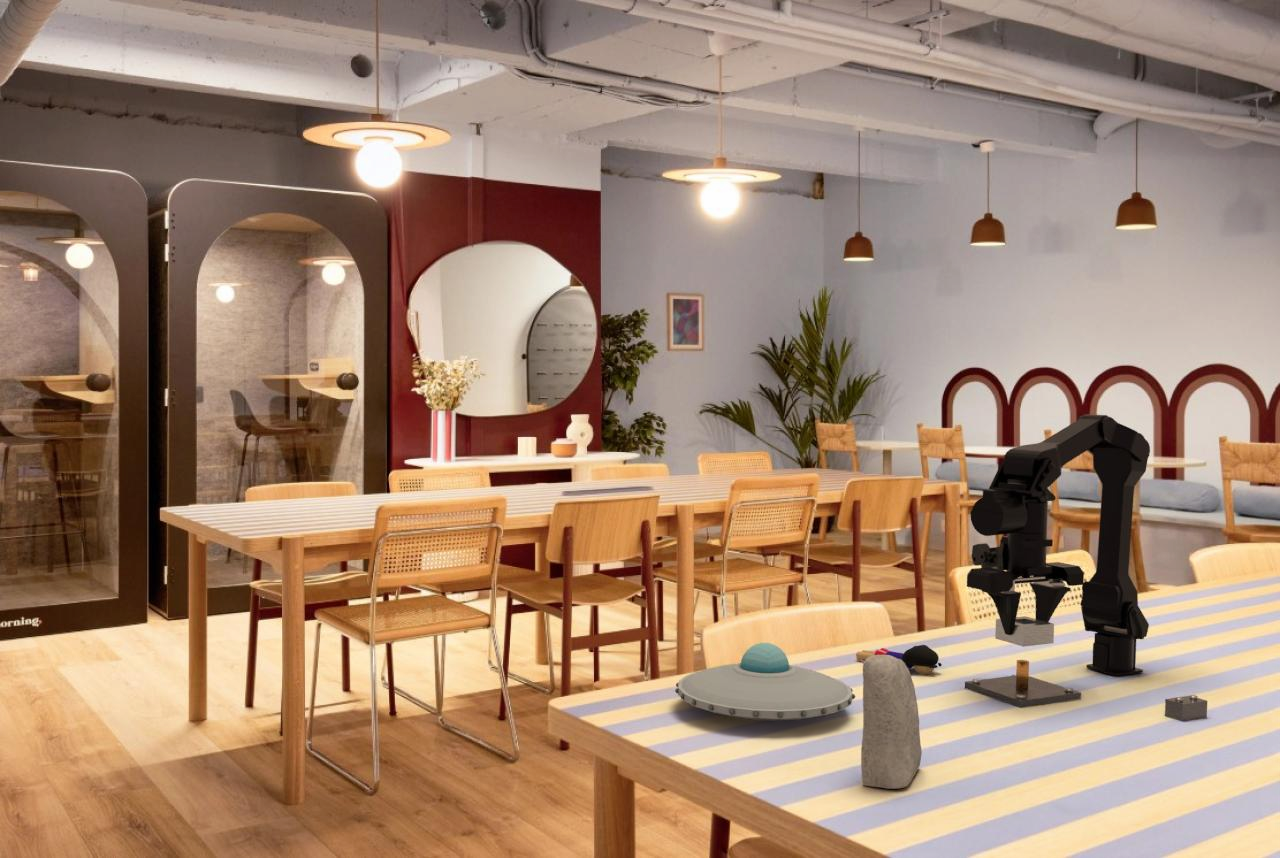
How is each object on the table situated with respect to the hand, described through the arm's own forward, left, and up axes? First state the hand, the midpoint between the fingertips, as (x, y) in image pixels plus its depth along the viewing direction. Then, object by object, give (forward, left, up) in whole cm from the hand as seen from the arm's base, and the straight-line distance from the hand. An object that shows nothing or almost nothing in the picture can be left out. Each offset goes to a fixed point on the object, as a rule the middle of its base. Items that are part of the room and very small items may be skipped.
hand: (1024, 632), depth 185 cm
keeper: (0, 0, -9) cm, 9 cm away
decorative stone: (+43, +23, -10) cm, 50 cm away
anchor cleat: (-13, +19, -9) cm, 25 cm away
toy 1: (+42, -7, -10) cm, 44 cm away
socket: (0, 0, -1) cm, 1 cm away
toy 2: (+7, -21, -10) cm, 24 cm away
